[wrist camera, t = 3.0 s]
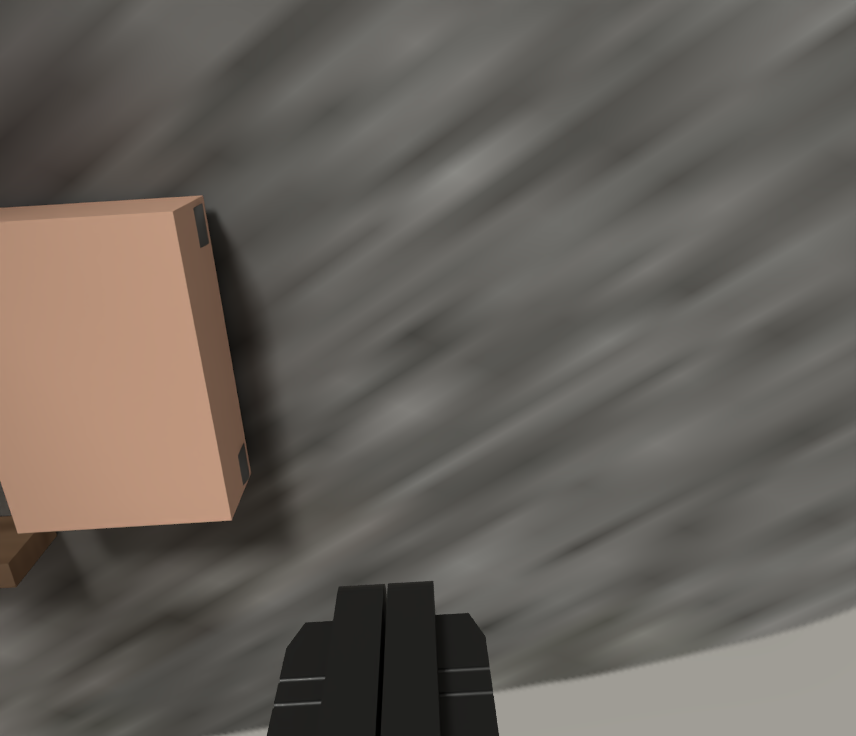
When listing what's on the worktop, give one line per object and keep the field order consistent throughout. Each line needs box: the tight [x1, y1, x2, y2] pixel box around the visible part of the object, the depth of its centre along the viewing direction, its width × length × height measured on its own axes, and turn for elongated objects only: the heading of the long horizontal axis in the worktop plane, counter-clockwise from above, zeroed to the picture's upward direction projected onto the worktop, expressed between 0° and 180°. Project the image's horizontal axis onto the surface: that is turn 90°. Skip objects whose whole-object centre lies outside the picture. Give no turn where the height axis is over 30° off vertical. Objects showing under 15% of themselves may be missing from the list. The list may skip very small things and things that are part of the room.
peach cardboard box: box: [0, 196, 251, 533], centre depth 23 cm, size 10×7×4 cm
